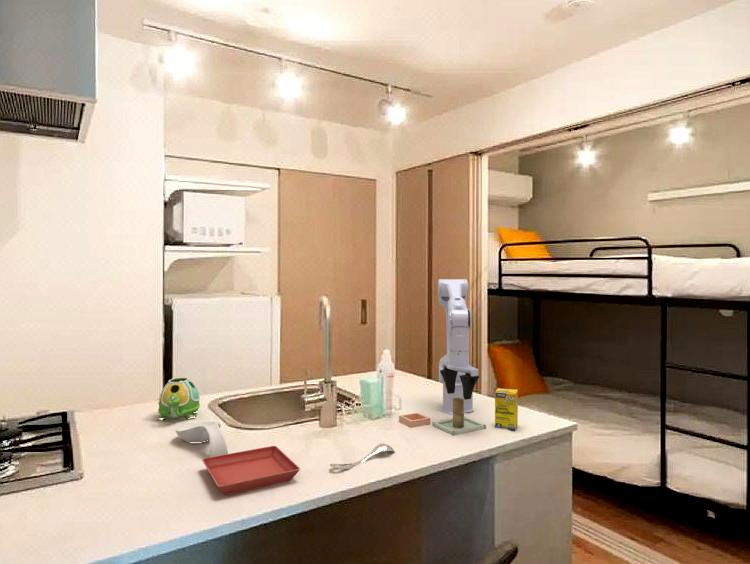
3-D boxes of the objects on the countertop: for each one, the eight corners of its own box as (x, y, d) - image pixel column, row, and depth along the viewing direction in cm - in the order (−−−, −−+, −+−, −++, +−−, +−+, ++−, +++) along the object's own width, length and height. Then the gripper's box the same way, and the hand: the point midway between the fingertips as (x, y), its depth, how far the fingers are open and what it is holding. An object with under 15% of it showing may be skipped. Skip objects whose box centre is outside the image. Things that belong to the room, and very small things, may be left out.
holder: (417, 419, 158) (417, 412, 158) (430, 425, 152) (430, 418, 152) (399, 422, 155) (399, 415, 155) (411, 428, 149) (411, 421, 149)
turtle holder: (149, 428, 150) (148, 388, 150) (164, 411, 168) (163, 375, 168) (192, 426, 152) (192, 386, 152) (203, 409, 170) (202, 374, 170)
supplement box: (494, 428, 149) (494, 391, 149) (497, 423, 155) (497, 387, 154) (515, 431, 147) (515, 393, 146) (517, 425, 152) (518, 389, 152)
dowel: (459, 424, 152) (460, 397, 151) (465, 427, 149) (466, 400, 148) (450, 425, 150) (450, 398, 150) (456, 428, 147) (456, 401, 147)
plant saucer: (201, 471, 119) (201, 457, 119) (275, 457, 128) (275, 444, 128) (218, 502, 104) (218, 486, 103) (301, 483, 112) (301, 469, 112)
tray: (463, 420, 157) (463, 416, 157) (486, 429, 148) (486, 425, 148) (432, 426, 151) (432, 422, 151) (453, 436, 142) (453, 431, 142)
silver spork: (337, 459, 116) (325, 453, 119) (336, 475, 116) (324, 469, 119) (399, 444, 129) (386, 439, 133) (398, 458, 129) (385, 453, 133)
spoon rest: (170, 438, 142) (170, 413, 142) (212, 430, 149) (212, 406, 149) (196, 465, 123) (196, 435, 123) (243, 454, 130) (242, 426, 130)
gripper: (433, 347, 153) (433, 392, 154) (464, 355, 141) (464, 403, 141) (451, 345, 157) (451, 389, 157) (483, 352, 144) (483, 400, 144)
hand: (459, 396), depth 149 cm, fingers open, 7 cm apart
